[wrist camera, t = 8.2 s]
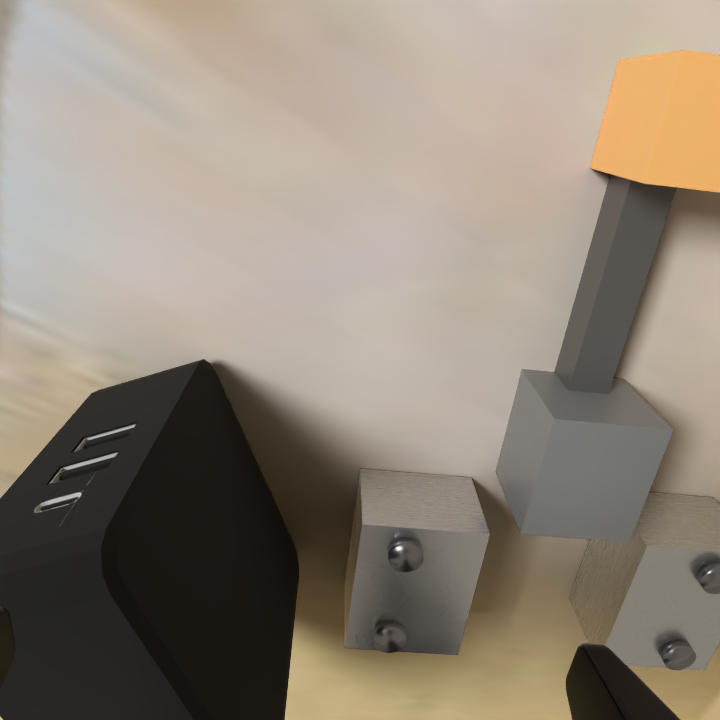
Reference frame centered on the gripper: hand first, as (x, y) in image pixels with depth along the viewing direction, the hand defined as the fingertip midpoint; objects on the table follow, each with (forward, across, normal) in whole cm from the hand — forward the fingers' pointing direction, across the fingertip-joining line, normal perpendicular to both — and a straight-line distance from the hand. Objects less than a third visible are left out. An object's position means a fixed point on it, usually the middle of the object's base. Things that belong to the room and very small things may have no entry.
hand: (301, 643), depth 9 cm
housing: (+12, -9, +8) cm, 17 cm away
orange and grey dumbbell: (+12, -9, -2) cm, 15 cm away
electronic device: (+12, +4, +6) cm, 14 cm away
